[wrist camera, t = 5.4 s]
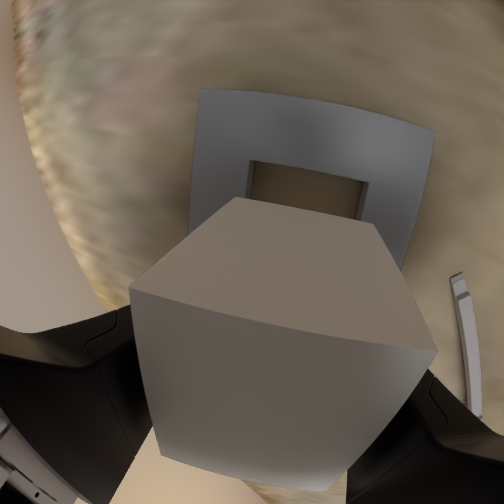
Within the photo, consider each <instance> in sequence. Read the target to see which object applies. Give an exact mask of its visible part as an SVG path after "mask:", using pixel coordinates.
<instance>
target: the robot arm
mask: <svg viewBox="0 0 504 504" xmlns="http://www.w3.org/2000/svg"><path fill="white" fill-rule="evenodd" d="M152 426H153V424H152V420H151V416H150V412H149V408H148V403H147V399H146V394H145V390H144V385H143V380H142V375H141V370H140V365H139V359H138V353H137V347H136V341H135V335H134V328H133V321H132V313H131V305H127V306H125V307H122V308H119V309H118V310H113V311H111V312H108V313H105V314H102V315H99V316H96V317H93V318H90V319H87V320H83V321H80V322H77V323H73V324H69V325H66V326H61V327H58V328H54V329H50V330H46V331H42V332H38V333H21V332H17V331H13V330H11V329H8V328H6V327H3V326H0V504H74V502H75V501H76V499H77V497H78V498H80V499H82V500H83V501H85V502H87V503H88V504H109V503H110V501H111V499H112V497H113V496H114V494H115V492H116V490H117V488H118V487H119V485H120V483H121V481H122V480H123V478H124V476H125V474H126V472H127V471H128V469H129V467H130V465H131V463H132V462H133V460H134V458H135V456H136V454H137V453H138V451H139V449H140V447H141V445H142V444H143V442H144V440H145V438H146V437H147V435H148V433H149V431H150V429H151V428H152ZM346 504H504V436H502V435H499V434H497V433H495V432H494V431H492V430H491V429H490V428H489V427H488V426H486V425H485V424H484V423H483V422H482V421H481V420H480V419H479V418H478V417H477V416H476V415H475V414H473V413H472V412H471V411H470V410H469V409H468V408H467V407H466V406H465V405H464V404H463V403H461V402H460V401H459V400H458V399H457V398H456V397H455V396H454V395H453V394H452V393H451V392H450V391H449V390H448V389H447V388H446V387H445V386H444V385H443V384H442V383H441V382H440V381H439V380H438V379H437V377H434V374H433V373H432V372H431V371H430V370H429V369H427V370H426V372H425V374H424V375H423V377H422V378H421V380H420V381H419V383H418V384H417V386H416V387H415V389H414V390H413V391H412V393H411V394H410V396H409V397H408V399H407V400H406V401H405V403H404V404H403V405H402V407H401V408H400V409H399V411H398V412H397V413H396V415H395V416H394V417H393V419H392V420H391V421H390V422H389V424H388V425H387V426H386V427H385V429H384V430H383V431H382V432H381V433H380V435H379V436H378V437H377V438H376V439H375V440H374V442H373V443H372V444H371V445H370V446H369V447H368V448H367V450H366V451H365V452H364V453H363V454H362V455H361V456H360V457H359V458H358V459H357V460H356V461H355V462H354V464H353V465H352V466H351V467H350V468H349V469H348V470H347V491H346Z"/></svg>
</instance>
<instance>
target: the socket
mask: <svg viewBox="0 0 504 504" xmlns="http://www.w3.org/2000/svg"><path fill="white" fill-rule="evenodd" d="M434 138H435V131H432V130H430V129H427V128H424V127H421V126H418V125H415V124H412V123H409V122H406V121H402V120H399V119H396V118H392V117H389V116H385V115H382V114H378V113H374V112H370V111H366V110H362V109H358V108H354V107H349V106H345V105H340V104H336V103H331V102H325V101H320V100H314V99H309V98H303V97H296V96H289V95H282V94H274V93H265V92H255V91H244V90H230V89H209V88H201V92H200V99H199V107H198V116H197V124H196V134H195V143H194V154H193V165H192V177H191V190H190V205H189V222H188V235H189V234H190V233H192V232H193V231H194V230H195V229H196V228H198V227H199V226H200V225H201V224H202V223H204V222H205V221H206V220H207V219H208V218H210V217H211V216H212V215H213V214H215V213H216V212H217V211H218V210H220V209H221V208H222V207H223V206H224V205H226V204H227V203H228V202H229V201H231V200H232V199H233V198H234V197H240V198H246V199H250V195H251V188H252V180H253V173H254V165H255V161H261V162H268V163H274V164H280V165H286V166H291V167H297V168H303V169H308V170H313V171H318V172H323V173H328V174H333V175H337V176H342V177H347V178H351V179H355V180H360V181H364V183H363V187H362V192H361V197H360V201H359V206H358V210H357V214H356V219H355V220H358V221H362V222H367V223H371V224H374V226H375V228H376V229H377V231H378V233H379V234H380V236H381V238H382V240H383V241H384V243H385V245H386V246H387V248H388V250H389V252H390V253H391V255H392V257H393V259H394V261H395V262H396V264H397V266H398V268H399V270H400V271H401V268H402V265H403V262H404V259H405V256H406V253H407V250H408V247H409V244H410V240H411V237H412V234H413V230H414V227H415V223H416V220H417V216H418V213H419V209H420V205H421V201H422V197H423V193H424V189H425V184H426V180H427V175H428V170H429V166H430V160H431V155H432V150H433V144H434Z"/></svg>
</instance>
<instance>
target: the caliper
mask: <svg viewBox="0 0 504 504" xmlns="http://www.w3.org/2000/svg"><path fill="white" fill-rule="evenodd" d="M450 283H451V287H452V291H453V299H454V305H455V312H456V316H457V321H458V327H459V332H460V338H461V344H462V351H463V358H464V366H465V375H466V386H467V401H468V405H466V407H467V408H468V409H469V410H470V411H471V412H472V413H473V414H475V415H476V416H477V417H478V418H479V419H480V420H481V421H482V422H483V418H482V415H481V414H482V394H481V370H480V357H479V347H478V338H477V331H476V324H475V317H474V311H473V306H472V300H471V295H470V294H469V293H468V291H467V286H466V282H465V278H464V276H463V273H460V274H458V275H456V276H454V277H452V278H450Z"/></svg>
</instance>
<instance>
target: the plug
mask: <svg viewBox="0 0 504 504" xmlns="http://www.w3.org/2000/svg"><path fill="white" fill-rule="evenodd" d="M129 296H130V305H131V313H132V321H133V328H134V335H135V341H136V347H137V353H138V359H139V365H140V370H141V375H142V380H143V385H144V390H145V394H146V399H147V403H148V408H149V412H150V416H151V420H152V424H153V428H154V431H155V435H156V439H157V442H158V446H159V449H160V452H161V455H163V456H165V457H168V458H171V459H173V460H176V461H179V462H182V463H185V464H188V465H191V466H194V467H197V468H201V469H204V470H207V471H211V472H214V473H218V474H221V475H225V476H229V477H233V478H238V479H242V480H246V481H251V482H256V483H261V484H267V485H272V486H279V487H285V488H293V489H301V490H310V491H321V492H325V491H326V490H327V489H328V488H329V487H330V486H331V485H332V484H333V483H334V482H335V481H336V480H337V479H339V478H340V477H341V476H342V475H343V474H344V473H345V472H346V471H347V470H348V469H349V468H350V467H351V466H352V465H353V464H354V462H355V461H356V460H357V459H358V458H359V457H360V456H361V455H362V454H363V453H364V452H365V451H366V450H367V448H368V447H369V446H370V445H371V444H372V443H373V442H374V440H375V439H376V438H377V437H378V436H379V435H380V433H381V432H382V431H383V430H384V429H385V427H386V426H387V425H388V424H389V422H390V421H391V420H392V419H393V417H394V416H395V415H396V413H397V412H398V411H399V409H400V408H401V407H402V405H403V404H404V403H405V401H406V400H407V399H408V397H409V396H410V394H411V393H412V391H413V390H414V389H415V387H416V386H417V384H418V383H419V381H420V380H421V378H422V377H423V375H424V374H425V372H426V370H427V369H428V367H429V366H430V364H431V362H432V361H433V359H434V357H435V356H436V354H437V352H438V349H437V347H436V345H435V342H434V340H433V338H432V335H431V333H430V331H429V329H428V326H427V324H426V322H425V320H424V318H423V316H422V313H421V311H420V309H419V307H418V305H417V303H416V301H415V299H414V297H413V295H412V293H411V291H410V289H409V287H408V285H407V283H406V281H405V279H404V277H403V275H402V274H401V272H400V270H399V268H398V266H397V264H396V262H395V261H394V259H393V257H392V255H391V253H390V252H389V250H388V248H387V246H386V245H385V243H384V241H383V240H382V238H381V236H380V234H379V233H378V231H377V229H376V228H375V226H374V224H371V223H367V222H362V221H358V220H353V219H349V218H344V217H340V216H335V215H330V214H325V213H321V212H316V211H311V210H306V209H300V208H295V207H290V206H285V205H279V204H274V203H268V202H263V201H257V200H251V199H246V198H240V197H234V198H233V199H232V200H231V201H229V202H228V203H227V204H226V205H224V206H223V207H222V208H221V209H220V210H218V211H217V212H216V213H215V214H213V215H212V216H211V217H210V218H208V219H207V220H206V221H205V222H204V223H202V224H201V225H200V226H199V227H198V228H196V229H195V230H194V231H193V232H192V233H190V234H189V235H188V236H187V237H186V238H184V239H183V240H182V241H181V242H180V243H178V244H177V245H176V246H175V247H174V248H173V249H171V250H170V251H169V252H168V253H167V254H166V255H165V256H163V257H162V258H161V259H160V260H159V261H158V262H156V263H155V264H154V265H153V266H152V267H151V268H150V269H148V270H147V271H146V272H145V273H144V274H143V275H142V276H141V277H139V278H138V279H137V280H136V281H135V282H134V283H133V284H132V285H131V286H129Z"/></svg>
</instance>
